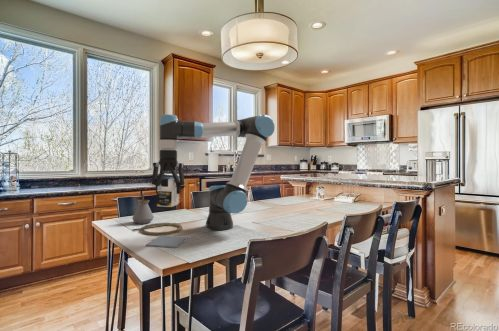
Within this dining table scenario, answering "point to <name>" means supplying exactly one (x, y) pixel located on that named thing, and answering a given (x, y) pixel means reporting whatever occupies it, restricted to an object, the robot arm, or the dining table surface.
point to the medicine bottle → (167, 193)
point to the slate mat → (167, 241)
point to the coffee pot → (143, 212)
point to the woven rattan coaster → (161, 232)
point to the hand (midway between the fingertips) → (168, 200)
